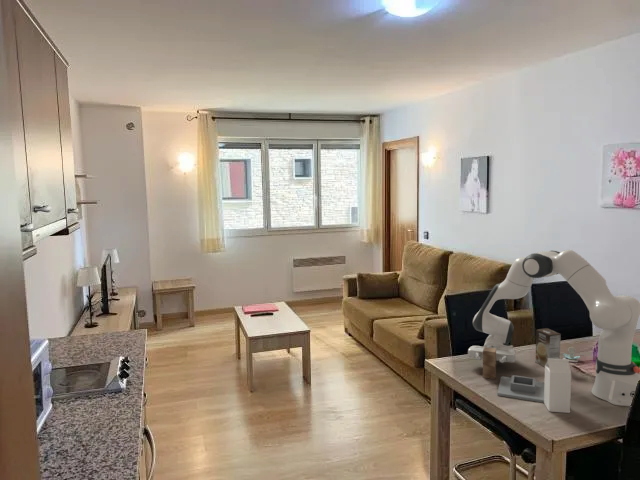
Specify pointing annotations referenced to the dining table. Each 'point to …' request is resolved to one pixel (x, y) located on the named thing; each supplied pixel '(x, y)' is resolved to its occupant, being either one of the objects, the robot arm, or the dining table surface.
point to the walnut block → (489, 362)
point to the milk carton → (557, 385)
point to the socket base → (521, 388)
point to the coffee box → (547, 345)
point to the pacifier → (571, 355)
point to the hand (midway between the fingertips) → (489, 359)
